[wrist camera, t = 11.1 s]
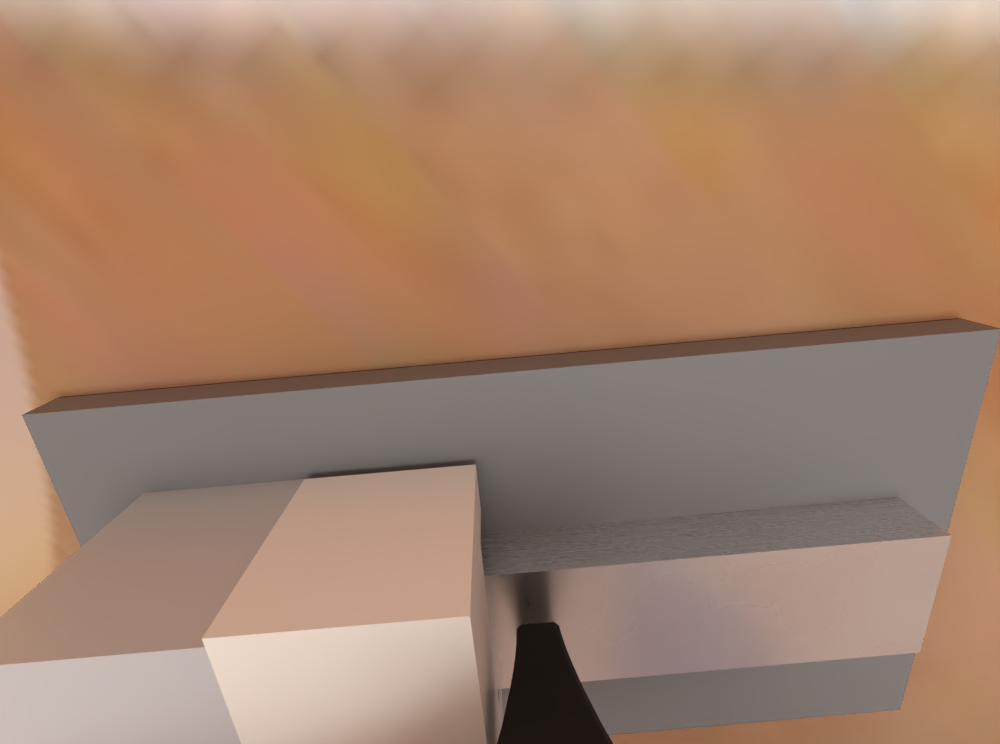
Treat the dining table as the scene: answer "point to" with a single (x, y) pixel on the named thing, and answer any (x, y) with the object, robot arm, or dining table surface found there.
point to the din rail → (719, 588)
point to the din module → (364, 617)
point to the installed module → (135, 623)
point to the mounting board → (586, 459)
